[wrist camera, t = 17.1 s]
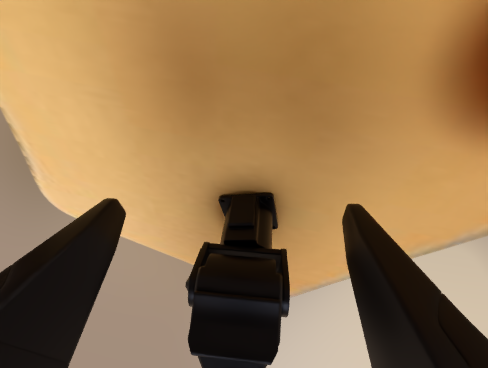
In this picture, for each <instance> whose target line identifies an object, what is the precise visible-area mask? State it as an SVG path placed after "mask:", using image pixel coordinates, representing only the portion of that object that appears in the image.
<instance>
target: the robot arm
mask: <svg viewBox="0 0 488 368" xmlns="http://www.w3.org/2000/svg"><path fill="white" fill-rule="evenodd" d="M269 197H270V198H269ZM219 203H220V206H221V208H222V211H223V214H224V216H225V222H224V227H223V232H222V237H221V242H220V244H213V243H209V242H204V244H203V246H202V248H201V249H200V252H199V254H198V257H197V259H196V262H195V264H194V267H193V269H192V272H191V274H190V276H189V278H188V280H187V282H186V288H187V290H188V303H189V306H191V307H192V315H191V324H190V330H189V335H188V343H189V348H190V352H191V354H192V355H195V356H198V358H199V361H200V363H201V366H202V368H266V366H267V365H271V364H272V362H273V360H274V358H275V356H276V354H277V352H278V346H279V343H280V327H281V317H287V316H288V311H289V300H290V284H289V272H288V262H287V251H286V249H281V250H279V249H272V229H277V228H278V222H277V216H276V209H275V203H274V196H273V194H271V193H261V194H242V195H224V196H220V197H219ZM125 217H126V212H125V210H124V208H123V207H122V206H121V204H120V203H119V201H118V200H117V199H113V198H107V199H104V200H103V201H101V202H100V203H98V204H97V205H96V206H94V207H93V208H91V209H90V210H89V211H87V212H86V213H84V214H83V215H81V216H80V217H79V218H77V219H76V220H74V221H73V222H72V223H70V224H69V225H67V226H66V227H64V228H63V229H62V230H60V231H59V232H57V233H56V234H54V235H53V236H52V237H50V238H49V239H47V240H46V241H45V242H43V243H42V244H40V245H39V246H38V247H36V248H35V249H33V250H32V251H30V252H29V253H28V254H26V255H25V256H23V257H22V258H20V259H19V260H18V261H16V262H15V263H14V264H13V265H11V266H9V267H8V268H6V269H5V270H4V271H2V272H1V273H0V368H68V366H69V363H70V361H71V359H72V356H73V354H74V351H75V349H76V346H77V343H78V342H79V339H80V337H81V334H82V332H83V329H84V327H85V324H86V322H87V319H88V317H89V314H90V312H91V310H92V307H93V305H94V302H95V300H96V297H97V294H98V292H99V290H100V288H101V285H102V283H103V280H104V278H105V275H106V273H107V270H108V268H109V266H110V263H111V261H112V258H113V256H114V253H115V251H116V247H117V244H118V241H119V238H120V234H121V231H122V227H123V224H124V220H125ZM342 225H343V233H344V242H345V251H346V259H347V265H348V270H349V274H350V278H351V282H352V287H353V291H354V295H355V299H356V303H357V307H358V311H359V316H360V320H361V324H362V328H363V332H364V337H365V341H366V345H367V349H368V353H369V358H370V362H371V366H372V368H488V339H487V338H486V337H485V336H484V335H483V334H482V333H481V332H480V331H479V330H478V329H477V328H476V327H475V326H474V325H473V324H472V323H471V322H470V321H469V320H468V319H467V318H466V317H465V316H464V315H463V314H462V313H461V312H460V311H459V310H458V309H457V308H456V307H455V306H454V305H453V303H452V302H451V301H450V300H448V298H447V297H446V296H445V295H444V294H441V291H440V290H439V289H438V287H437V286H436V285H435V284H434V283H433V282H432V281H431V280H430V279H429V278H428V277H427V276H426V275H425V273H424V272H423V271H422V270H421V269H420V268H419V267H418V266H417V265H416V264H415V263H414V262H413V261H412V259H411V258H410V257H409V256H408V255H407V254H406V253H405V252H404V251H403V250H402V249H401V248H400V247H399V245H398V244H397V243H396V242H395V241H394V240H393V239H392V238H391V237H390V236H389V235H388V234H387V233H386V231H385V230H384V229H383V228H382V227H381V226H380V225H379V224H378V223H377V222H376V221H375V220H374V219H373V217H372V216H371V215H370V214H369V213H368V212H367V211H366V210H365V209H364V208H363V207H362V206H361V205H360V204H348V205H347V206H346V209H345V212H344V215H343V219H342Z"/></svg>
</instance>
